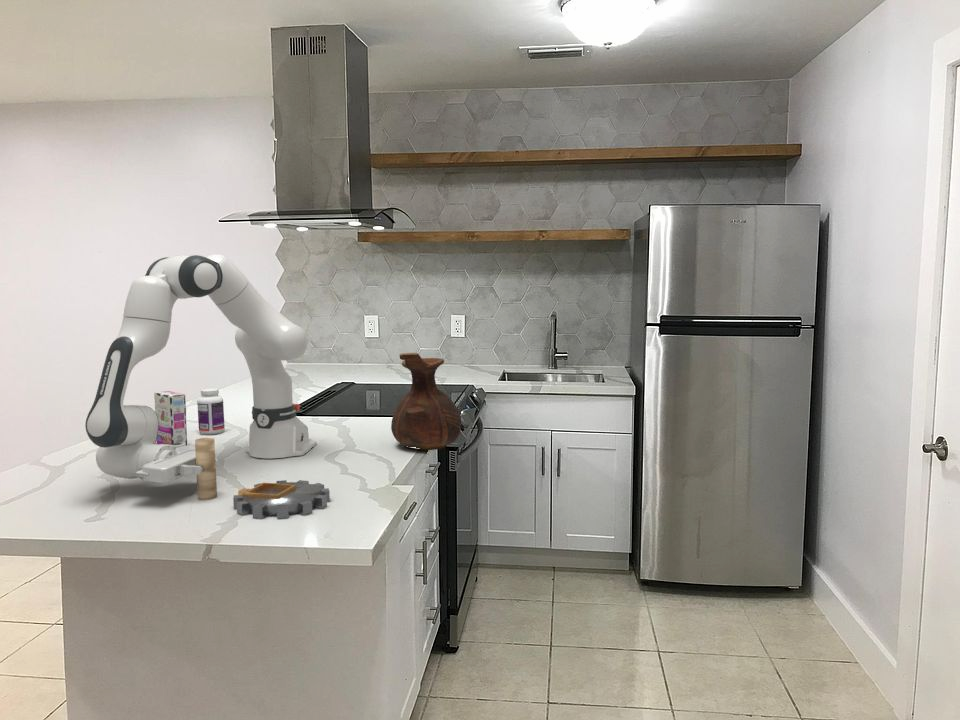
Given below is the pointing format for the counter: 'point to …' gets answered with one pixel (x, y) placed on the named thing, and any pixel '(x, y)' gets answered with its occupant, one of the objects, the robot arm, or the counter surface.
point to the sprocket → (281, 499)
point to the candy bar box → (171, 417)
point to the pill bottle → (210, 412)
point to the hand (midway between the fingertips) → (209, 466)
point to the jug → (425, 408)
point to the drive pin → (206, 468)
